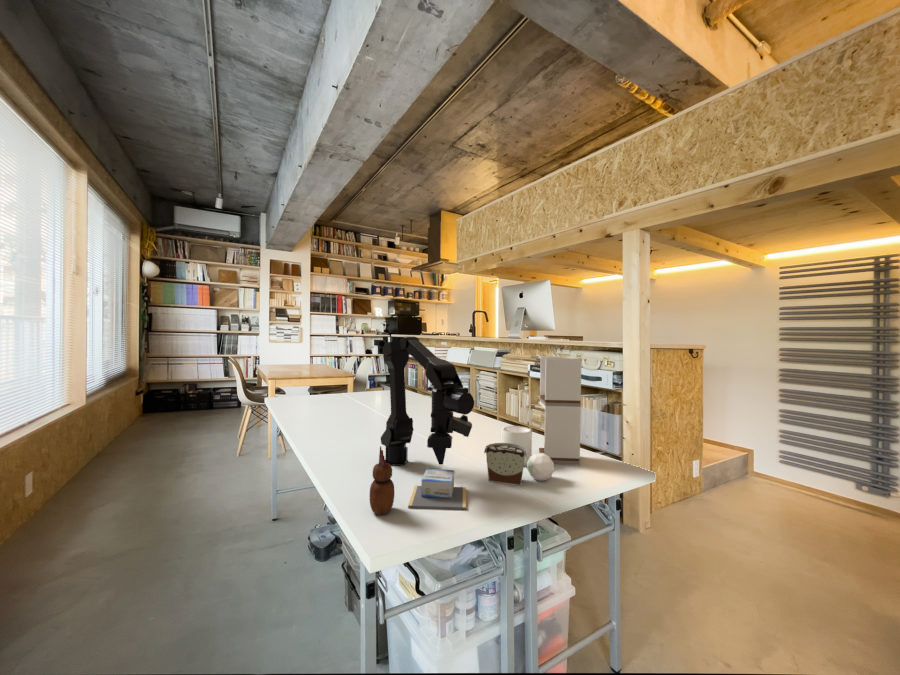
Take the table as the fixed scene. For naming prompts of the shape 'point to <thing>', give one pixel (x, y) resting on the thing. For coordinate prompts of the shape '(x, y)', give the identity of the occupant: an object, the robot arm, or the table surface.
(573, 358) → the stacked beige boxes
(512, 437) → the mug
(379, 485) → the wooden figurine
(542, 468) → the geometric ball
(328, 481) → the table surface
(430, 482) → the medicine box
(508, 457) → the multicoloured piece
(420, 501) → the mat
